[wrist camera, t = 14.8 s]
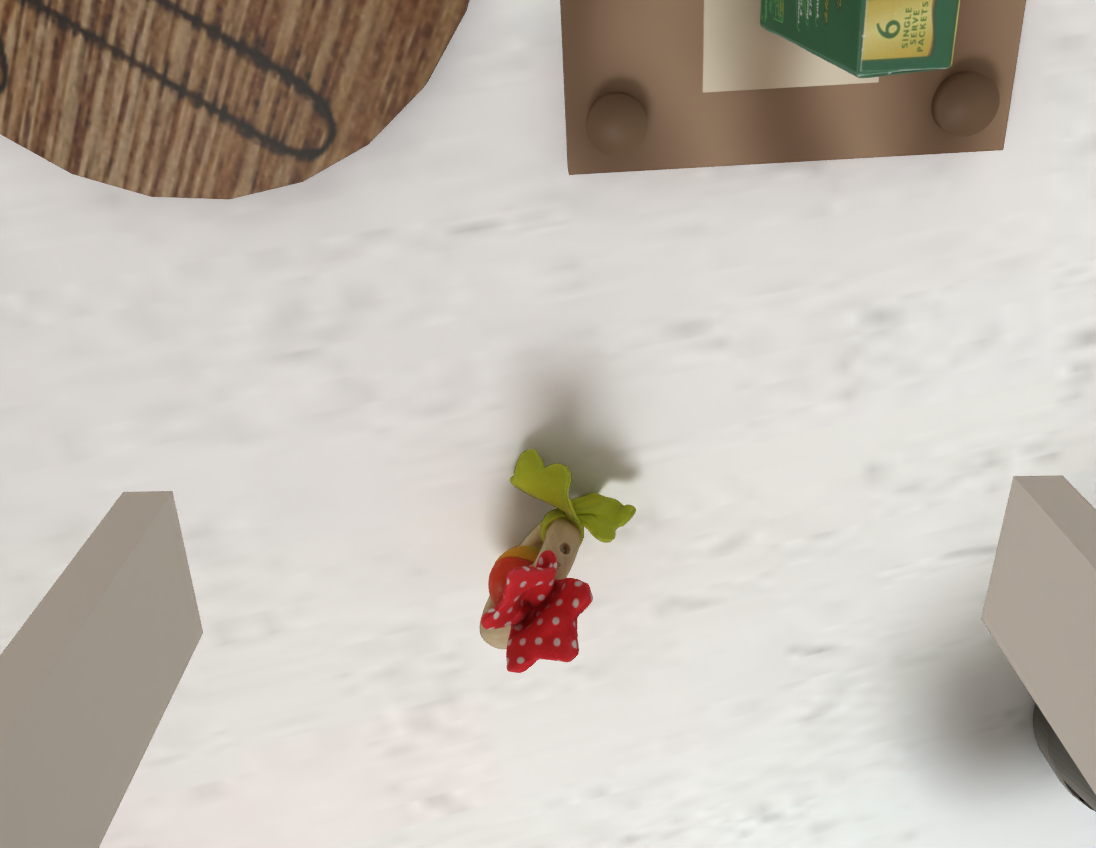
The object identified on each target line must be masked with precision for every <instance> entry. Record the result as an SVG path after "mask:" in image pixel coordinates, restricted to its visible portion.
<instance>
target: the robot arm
mask: <svg viewBox="0 0 1096 848" xmlns="http://www.w3.org/2000/svg"><path fill="white" fill-rule="evenodd" d="M981 619H982V621H983V622H984V624H985V625H986V627H987V628H988V630H989V632H990V633H991V635H992V636H993V638H994V639H995V641H996V642H997V644H998V645H999V647H1000V648H1001V650H1002V652H1003V653H1004V655H1005V656H1006V658H1007V659H1008V661H1009V662H1010V664H1011V665H1012V667H1013V668H1014V670H1015V672H1016V673H1017V675H1018V676H1019V678H1020V679H1021V681H1022V682H1023V684H1024V685H1025V687H1026V688H1027V690H1028V692H1029V693H1030V695H1031V696H1032V698H1033V699H1034V701H1035V702H1036V703H1035V708H1034V716H1033V725H1034V733H1035V737H1036V740H1037V743H1038V746H1039V748H1040V750H1041V752H1042V753H1043V755H1044V756H1045V758H1046V760H1047V761H1048V763H1049V764H1050V766H1051V768H1052V769H1053V771H1054V772H1055V774H1056V776H1057V777H1058V779H1059V780H1060V782H1061V783H1062V784H1063V785H1064V787H1065V788H1066V789H1067V790H1068V791H1069V792H1070V793H1071V794H1072V795H1073V796H1074V797H1075V798H1077V799H1078V800H1079V801H1081V802H1082V803H1083V804H1085V805H1086V806H1087V807H1089V808H1090V809H1092V810H1094V811H1096V509H1095V508H1094V507H1093V506H1092V505H1091V504H1090V503H1089V502H1088V501H1087V500H1086V499H1085V498H1084V497H1083V496H1082V495H1081V494H1080V493H1079V492H1078V491H1077V490H1076V489H1075V488H1074V487H1073V486H1072V485H1071V484H1070V483H1069V482H1068V481H1067V480H1066V479H1065V478H1064V477H1063V476H1013V481H1012V485H1011V490H1010V494H1009V498H1008V503H1007V507H1006V512H1005V516H1004V521H1003V525H1002V529H1001V534H1000V538H999V543H998V547H997V551H996V556H995V560H994V565H993V569H992V574H991V578H990V582H989V587H988V591H987V596H986V600H985V605H984V609H983V613H982V618H981ZM202 634H203V630H202V626H201V621H200V616H199V612H198V607H197V603H196V598H195V593H194V589H193V584H192V580H191V575H190V570H189V566H188V561H187V556H186V552H185V547H184V543H183V538H182V533H181V529H180V524H179V520H178V515H177V510H176V506H175V501H174V497H173V492H172V491H159V492H123V493H122V494H121V496H120V497H119V498H118V500H117V501H116V502H115V504H114V505H113V506H112V508H111V509H110V510H109V512H108V513H107V514H106V516H105V517H104V518H103V520H102V521H101V522H100V524H99V525H98V526H97V528H96V529H95V530H94V532H93V533H92V534H91V536H90V537H89V538H88V540H87V541H86V542H85V544H84V545H83V546H82V548H81V549H80V550H79V552H78V553H77V554H76V556H75V557H74V558H73V560H72V561H71V562H70V564H69V565H68V566H67V568H66V569H65V570H64V572H63V573H62V574H61V576H60V577H59V578H58V579H57V581H56V582H55V583H54V585H53V586H52V587H51V589H50V590H49V591H48V593H47V594H46V595H45V597H44V598H43V599H42V601H41V602H40V603H39V605H38V606H37V607H36V609H35V610H34V611H33V613H32V614H31V615H30V617H29V618H28V619H27V621H26V622H25V623H24V625H23V626H22V627H21V629H20V630H19V631H18V633H17V634H16V635H15V637H14V638H13V639H12V641H11V642H10V643H9V645H8V646H7V647H6V649H5V650H4V651H3V653H2V654H1V655H0V848H99V846H100V844H101V842H102V840H103V838H104V836H105V834H106V831H107V829H108V827H109V825H110V823H111V821H112V819H113V817H114V815H115V813H116V811H117V809H118V807H119V805H120V803H121V801H122V798H123V796H124V794H125V792H126V790H127V788H128V786H129V784H130V782H131V780H132V778H133V776H134V774H135V772H136V770H137V768H138V766H139V763H140V761H141V759H142V757H143V755H144V753H145V751H146V749H147V747H148V745H149V743H150V741H151V739H152V737H153V735H154V733H155V730H156V728H157V726H158V724H159V722H160V720H161V718H162V716H163V714H164V712H165V710H166V708H167V706H168V704H169V702H170V700H171V698H172V695H173V693H174V691H175V689H176V687H177V685H178V683H179V681H180V679H181V677H182V675H183V673H184V671H185V669H186V667H187V665H188V663H189V660H190V658H191V656H192V654H193V652H194V650H195V648H196V646H197V644H198V642H199V640H200V638H201V636H202Z"/></svg>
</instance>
